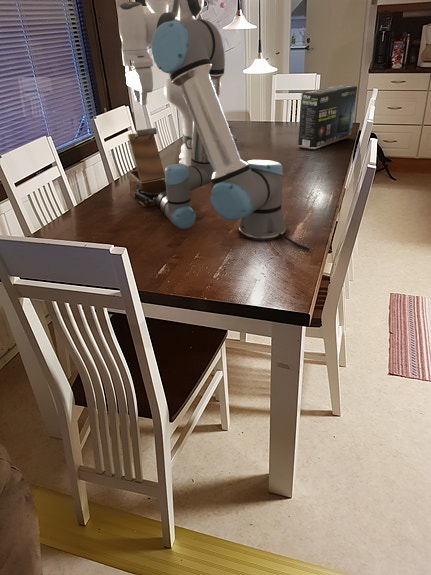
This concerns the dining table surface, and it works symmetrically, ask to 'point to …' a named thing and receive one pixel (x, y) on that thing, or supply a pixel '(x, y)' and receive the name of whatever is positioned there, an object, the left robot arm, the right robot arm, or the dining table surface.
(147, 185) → the chest
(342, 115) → the router box
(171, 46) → the right robot arm
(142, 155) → the lid
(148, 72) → the left robot arm
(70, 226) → the dining table surface
